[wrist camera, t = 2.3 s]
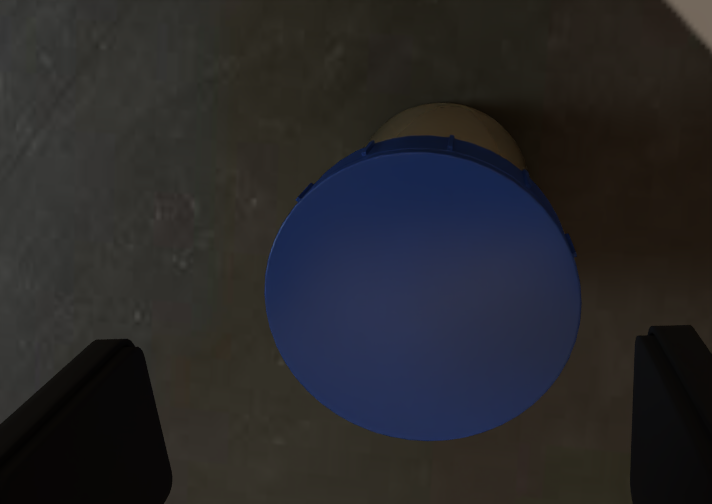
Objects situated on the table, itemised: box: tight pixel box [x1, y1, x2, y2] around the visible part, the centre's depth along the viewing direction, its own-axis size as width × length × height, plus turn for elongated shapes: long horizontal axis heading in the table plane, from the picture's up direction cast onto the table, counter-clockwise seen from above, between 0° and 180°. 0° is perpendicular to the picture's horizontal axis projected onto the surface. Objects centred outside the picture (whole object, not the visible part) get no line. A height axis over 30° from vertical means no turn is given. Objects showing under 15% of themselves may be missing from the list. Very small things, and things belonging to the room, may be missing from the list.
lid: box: [265, 135, 582, 441], centre depth 16 cm, size 7×7×2 cm
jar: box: [363, 103, 530, 177], centre depth 20 cm, size 6×6×10 cm
